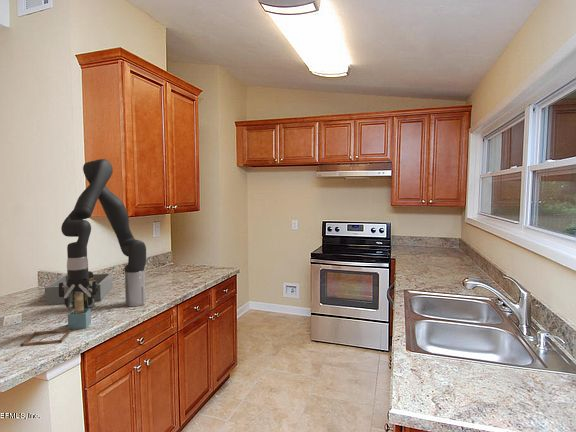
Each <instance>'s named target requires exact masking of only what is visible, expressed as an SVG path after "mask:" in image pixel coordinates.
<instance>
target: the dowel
mask: <svg viewBox="0 0 576 432" xmlns="http://www.w3.org/2000/svg"><path fill="white" fill-rule="evenodd" d="M74 297H75V308H74V310H75V314H83V313H84V299H83V293H82V292H79V293H75V294H74Z"/></svg>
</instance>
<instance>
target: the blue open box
mask: <svg viewBox="0 0 576 432" xmlns="http://www.w3.org/2000/svg"><path fill="white" fill-rule="evenodd" d="M91 309H92V307H91V308H89V309H84V313H83V314H75V309H72V311H71V312H69V313H68V314H67V329H72V331H73V330H84V329H87V328H89V326H90V324H91V323H92V310H91Z"/></svg>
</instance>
